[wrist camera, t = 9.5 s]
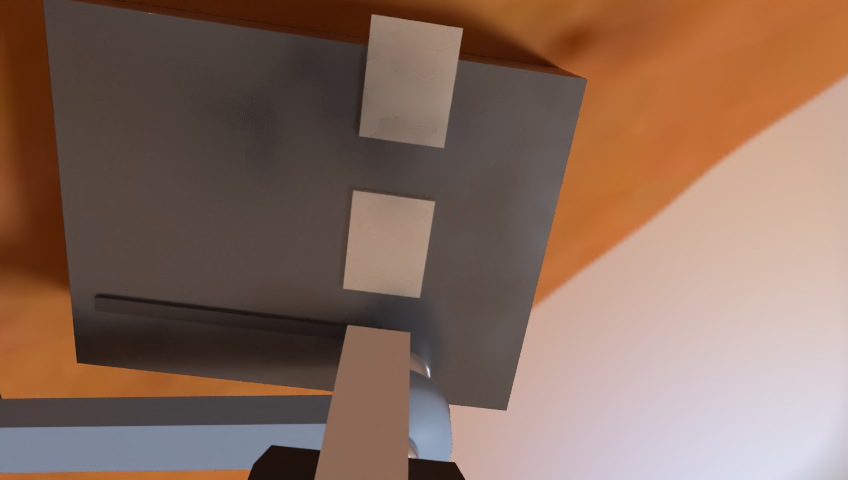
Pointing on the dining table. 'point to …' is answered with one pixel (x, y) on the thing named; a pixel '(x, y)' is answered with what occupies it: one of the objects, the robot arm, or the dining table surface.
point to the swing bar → (187, 430)
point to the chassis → (301, 194)
